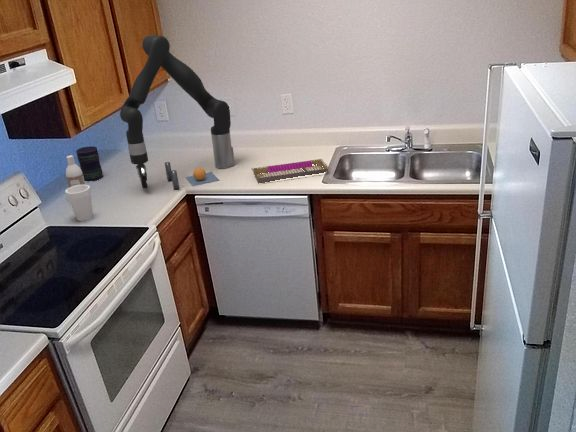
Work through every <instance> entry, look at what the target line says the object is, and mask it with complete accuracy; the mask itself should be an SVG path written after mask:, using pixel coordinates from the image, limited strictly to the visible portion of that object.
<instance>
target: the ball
mask: <svg viewBox="0 0 576 432" xmlns="http://www.w3.org/2000/svg"><path fill="white" fill-rule="evenodd" d="M206 173H207V172H206V170H205V169H204V168H202V167H197V168H195V169H194V170H193V173H192V176H194V178H195V179H196V180H203V179H204V178H205V177H206Z"/></svg>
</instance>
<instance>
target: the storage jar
mask: <svg viewBox="0 0 576 432" xmlns="http://www.w3.org/2000/svg"><path fill="white" fill-rule="evenodd" d="M75 152H76V153H75V154H76V157H77V160H78V163H79V167H80V169H81V170H82V173H83V177H84V181H93V182H97V180H98V181H100V180H102V179H103V178H104V175H103V173H104V172H103V168H102V165H101V163H100V155H99V151H98V147H97V146H95V145H94V146H93V145H92V146H84V147H80V148H77V149H76V151H75ZM101 178H102V179H101ZM99 179H100V180H99Z"/></svg>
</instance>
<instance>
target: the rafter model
mask: <svg viewBox="0 0 576 432" xmlns="http://www.w3.org/2000/svg"><path fill="white" fill-rule="evenodd" d="M312 164H314V165H315V167H314V166H312ZM316 164H317V166H316ZM318 165H319V166H318ZM322 166H323V167H322ZM300 168H302V169H303V170H304V171H305V172H304V171H303V170H302V169H300ZM323 168H324V169H323ZM293 169H294V170H293ZM251 170H252V173H253V175H255V176H254V178H255V179H256V182H257V183H258V184H257V185H260V184H259V183H263V184H266V183H265V182H270V181H275V180H280V179H286V178H293V177H298V176H305V175H312V174H319V173H324V172H326V171H328V172H329V170H331V168H330V167H329V166H328V164H326V163H325V162H324V160H323V158H319V159H318V158H317V159H312V160H304V161H297V162H291V163H283V164H274V165H269V166H268V165H267V166H261V167H252V168H251ZM286 170H287V171H286ZM279 171H280V172H279ZM298 171H299V172H298ZM268 172H269V173H268ZM260 173H261V174H260ZM262 173H265V174H262ZM272 174H273V175H272ZM275 174H276V175H275ZM270 183H271V182H270Z"/></svg>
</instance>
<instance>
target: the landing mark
mask: <svg viewBox="0 0 576 432" xmlns="http://www.w3.org/2000/svg"><path fill="white" fill-rule="evenodd" d="M185 179H186V180H187V181H188V182H189V184H190V185H191V186H192V187H195V186H199V185H204V184H211V183H213V182H218V181H220V179H219V178H218V177H217V176H216V175H215V174H214V173H213V172H212V171H209V172H206V177H205V178H204V179H203V180H196V179H195V178H194V176H193V175H190V176H185Z"/></svg>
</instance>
